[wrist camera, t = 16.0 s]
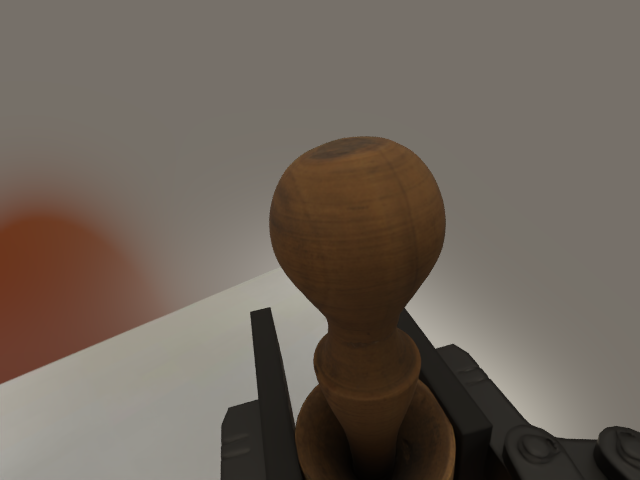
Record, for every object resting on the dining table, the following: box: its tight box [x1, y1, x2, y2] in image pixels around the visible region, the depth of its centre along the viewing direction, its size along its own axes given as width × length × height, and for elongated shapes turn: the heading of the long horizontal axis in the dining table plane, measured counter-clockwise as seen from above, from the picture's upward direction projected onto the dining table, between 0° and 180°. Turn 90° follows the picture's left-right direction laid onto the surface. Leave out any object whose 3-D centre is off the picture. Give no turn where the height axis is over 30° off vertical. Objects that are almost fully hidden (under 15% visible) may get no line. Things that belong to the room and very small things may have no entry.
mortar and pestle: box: [269, 136, 456, 480], centre depth 10 cm, size 7×6×18 cm
